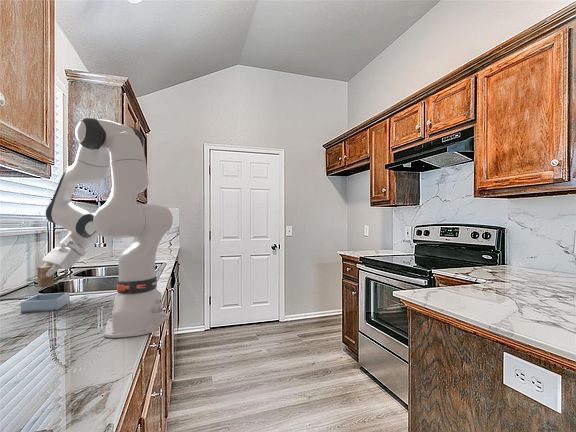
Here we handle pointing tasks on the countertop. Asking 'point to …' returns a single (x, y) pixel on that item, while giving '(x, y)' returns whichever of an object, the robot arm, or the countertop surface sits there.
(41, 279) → the block
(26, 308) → the box
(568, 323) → the countertop surface
